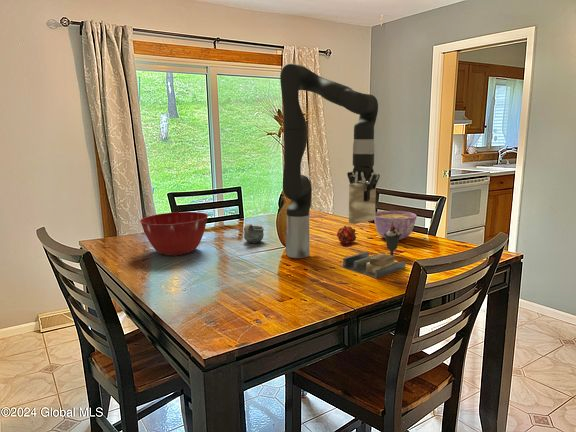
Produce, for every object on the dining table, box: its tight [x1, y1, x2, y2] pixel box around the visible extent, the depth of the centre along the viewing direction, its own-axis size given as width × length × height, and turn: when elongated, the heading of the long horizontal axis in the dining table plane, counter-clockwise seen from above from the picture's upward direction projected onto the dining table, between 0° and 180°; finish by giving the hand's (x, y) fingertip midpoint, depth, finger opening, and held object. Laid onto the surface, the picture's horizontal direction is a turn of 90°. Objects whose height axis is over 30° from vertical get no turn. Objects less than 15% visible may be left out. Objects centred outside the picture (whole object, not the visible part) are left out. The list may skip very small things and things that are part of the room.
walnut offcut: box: [370, 253, 395, 267], centre depth 147 cm, size 5×8×2 cm, turn 137°
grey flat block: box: [366, 259, 399, 274], centre depth 148 cm, size 6×10×3 cm, turn 129°
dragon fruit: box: [336, 225, 357, 246], centre depth 191 cm, size 8×8×12 cm
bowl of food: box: [373, 210, 417, 241], centre depth 198 cm, size 20×20×12 cm
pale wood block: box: [348, 183, 377, 225], centre depth 151 cm, size 3×11×14 cm, turn 129°
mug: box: [243, 223, 265, 244], centre depth 194 cm, size 10×12×10 cm
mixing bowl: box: [139, 211, 209, 256], centre depth 182 cm, size 28×28×15 cm
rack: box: [339, 251, 406, 279], centre depth 152 cm, size 17×16×4 cm
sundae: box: [384, 223, 401, 257], centre depth 165 cm, size 7×7×15 cm
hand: (362, 200), depth 151 cm, fingers closed on pale wood block, 3 cm apart
